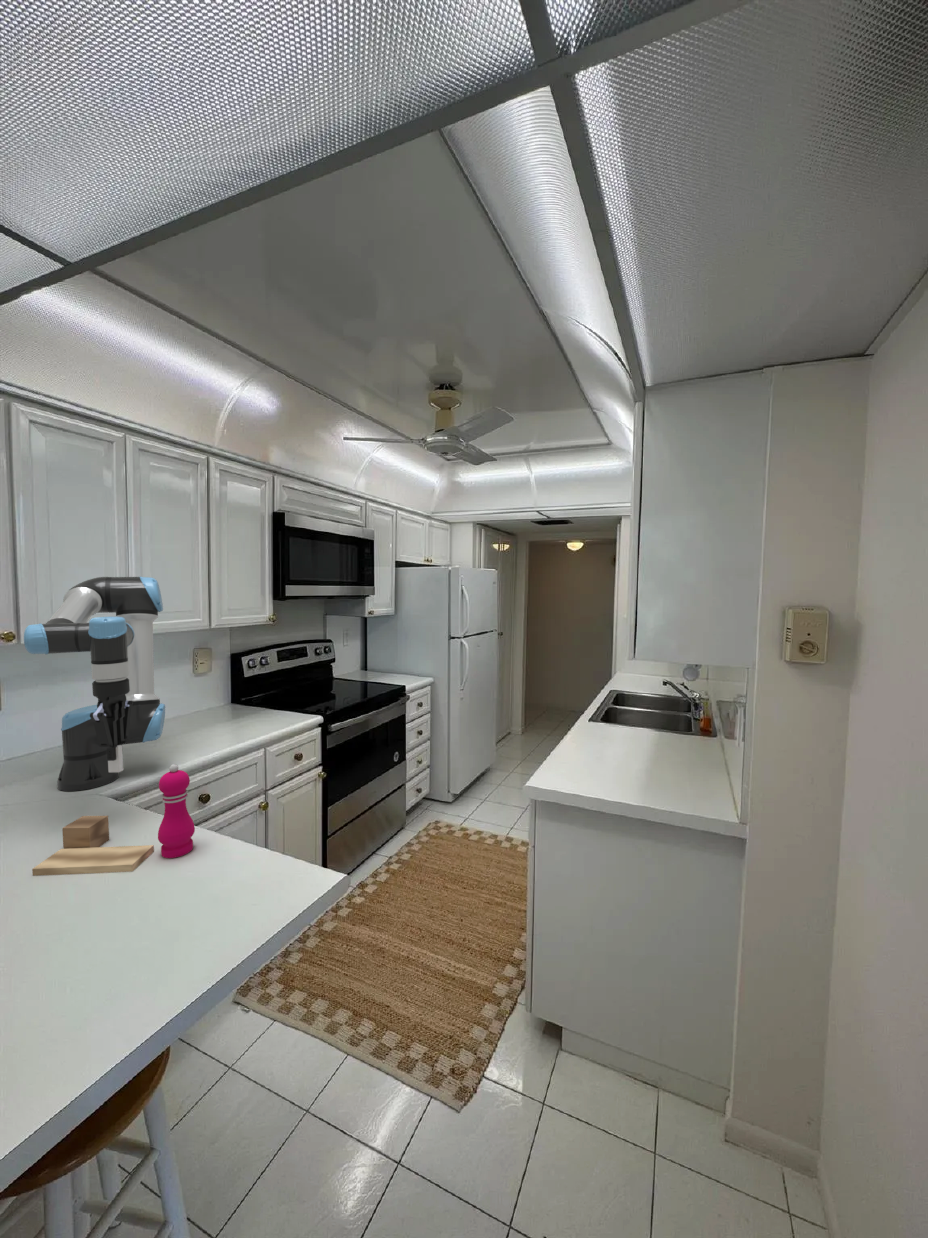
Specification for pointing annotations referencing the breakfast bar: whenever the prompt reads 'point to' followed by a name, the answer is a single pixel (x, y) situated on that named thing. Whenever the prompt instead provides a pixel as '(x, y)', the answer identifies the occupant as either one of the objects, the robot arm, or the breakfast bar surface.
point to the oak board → (94, 860)
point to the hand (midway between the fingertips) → (116, 771)
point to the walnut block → (86, 832)
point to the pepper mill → (175, 815)
